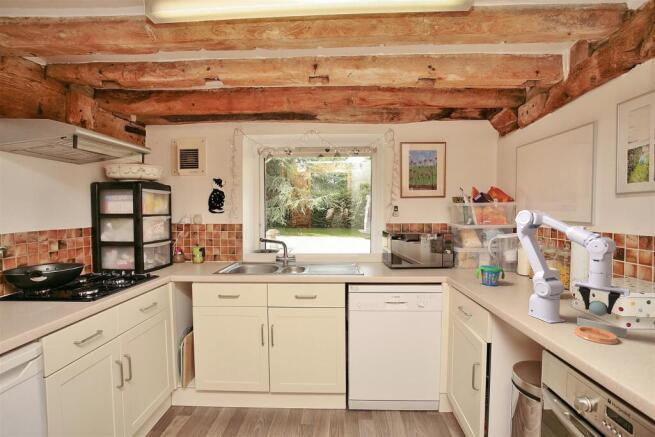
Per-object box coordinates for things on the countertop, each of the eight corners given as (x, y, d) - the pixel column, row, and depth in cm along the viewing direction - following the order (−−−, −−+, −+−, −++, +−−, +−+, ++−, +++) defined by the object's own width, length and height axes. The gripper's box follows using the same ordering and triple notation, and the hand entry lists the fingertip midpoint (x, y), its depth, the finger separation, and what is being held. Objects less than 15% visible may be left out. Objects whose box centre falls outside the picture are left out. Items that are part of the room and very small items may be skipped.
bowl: (566, 331, 104) (566, 327, 104) (588, 328, 106) (588, 324, 106) (602, 346, 93) (602, 341, 93) (626, 342, 96) (626, 337, 96)
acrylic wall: (576, 325, 109) (577, 318, 109) (577, 324, 110) (578, 317, 110) (626, 338, 99) (626, 330, 99) (626, 337, 100) (627, 329, 100)
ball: (584, 313, 103) (585, 299, 102) (594, 312, 104) (595, 298, 104) (601, 318, 98) (602, 304, 98) (611, 317, 99) (612, 302, 99)
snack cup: (499, 282, 171) (500, 265, 171) (509, 287, 161) (509, 269, 161) (472, 281, 173) (472, 264, 172) (479, 286, 162) (480, 268, 162)
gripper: (632, 274, 97) (629, 314, 98) (576, 267, 108) (574, 303, 109) (628, 277, 93) (626, 319, 93) (570, 269, 104) (569, 307, 105)
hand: (598, 311), depth 101 cm, fingers closed on ball, 5 cm apart
